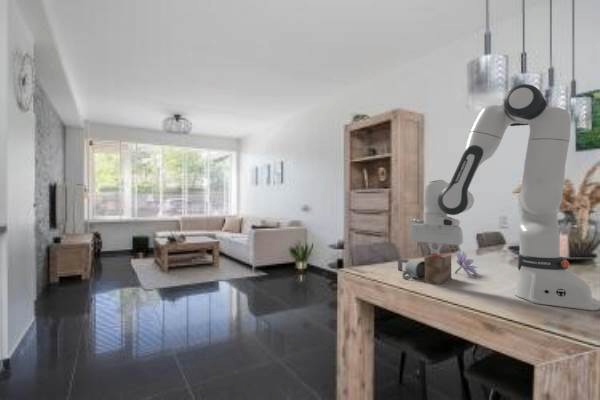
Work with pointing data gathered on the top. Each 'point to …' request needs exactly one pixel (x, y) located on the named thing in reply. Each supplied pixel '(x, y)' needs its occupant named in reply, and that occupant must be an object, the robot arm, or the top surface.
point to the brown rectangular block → (437, 269)
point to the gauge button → (435, 256)
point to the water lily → (465, 263)
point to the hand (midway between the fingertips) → (435, 254)
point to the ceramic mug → (414, 269)
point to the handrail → (401, 263)
